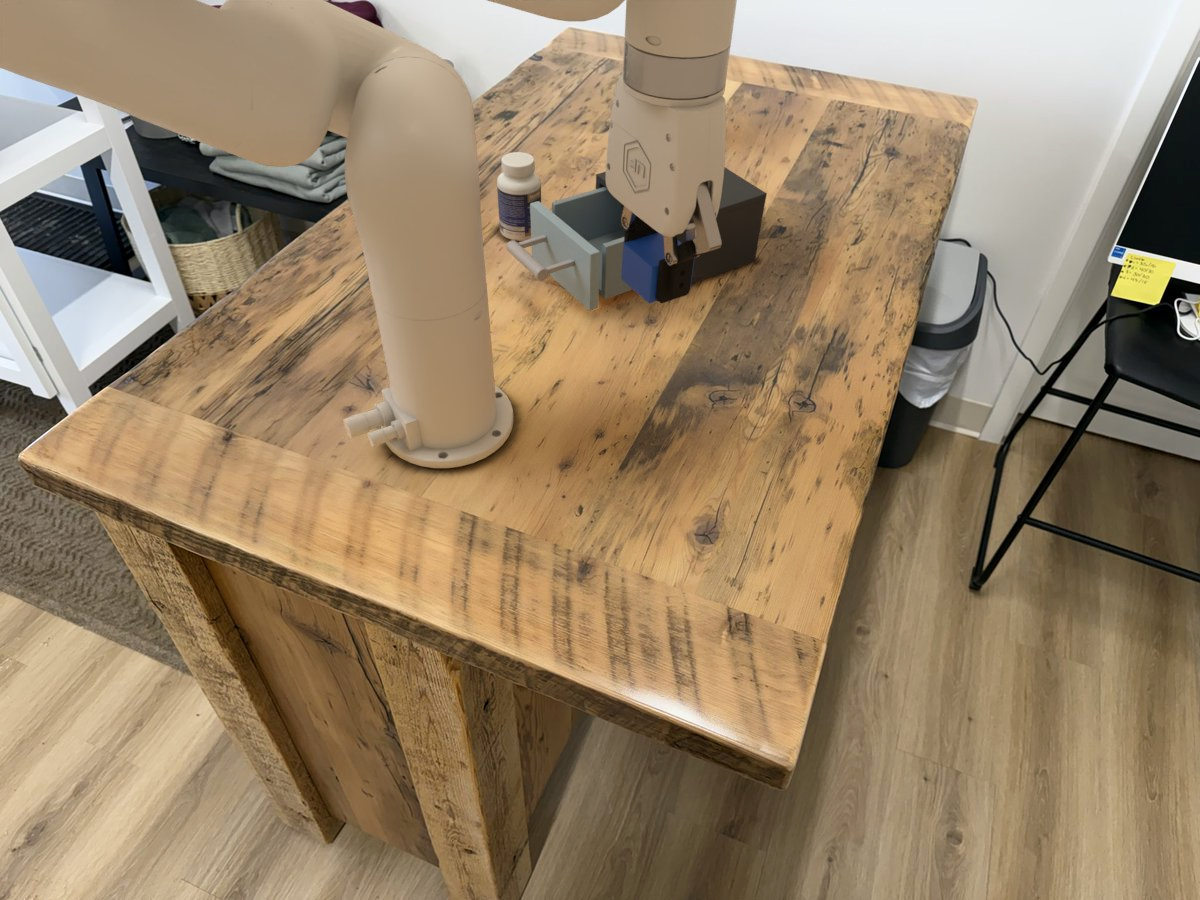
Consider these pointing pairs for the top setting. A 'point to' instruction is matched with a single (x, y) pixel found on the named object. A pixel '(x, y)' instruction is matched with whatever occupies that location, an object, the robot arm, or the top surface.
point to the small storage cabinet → (728, 227)
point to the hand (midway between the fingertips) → (655, 280)
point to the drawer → (577, 245)
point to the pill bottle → (517, 195)
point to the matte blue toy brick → (643, 264)
